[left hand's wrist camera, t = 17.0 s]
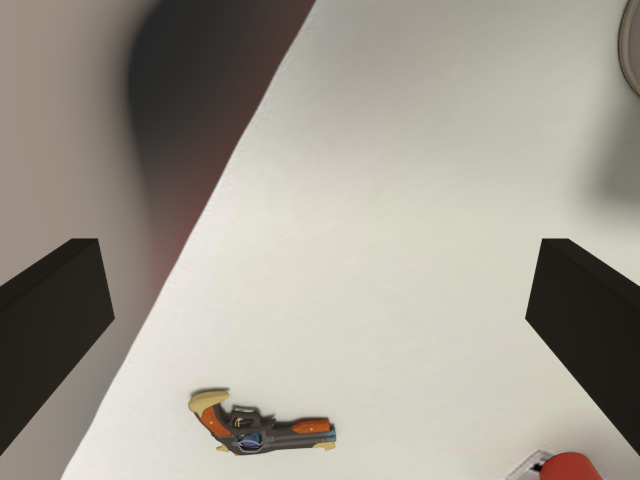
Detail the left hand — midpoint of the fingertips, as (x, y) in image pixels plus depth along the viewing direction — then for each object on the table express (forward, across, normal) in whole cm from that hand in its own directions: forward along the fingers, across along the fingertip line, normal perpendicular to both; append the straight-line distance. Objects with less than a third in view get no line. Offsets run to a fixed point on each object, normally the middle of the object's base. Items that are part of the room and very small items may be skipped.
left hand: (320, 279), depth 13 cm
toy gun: (+33, -7, -38) cm, 50 cm away
